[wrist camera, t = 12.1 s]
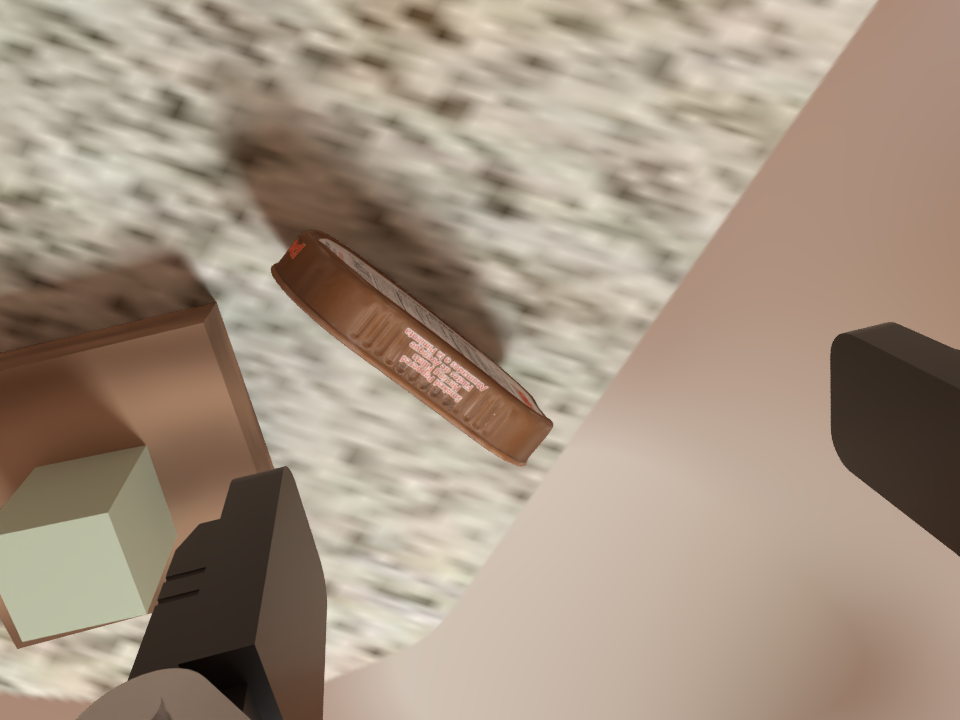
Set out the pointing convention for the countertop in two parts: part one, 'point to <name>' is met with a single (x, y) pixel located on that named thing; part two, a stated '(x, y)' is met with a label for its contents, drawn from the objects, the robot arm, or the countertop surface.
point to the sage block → (84, 543)
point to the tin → (411, 345)
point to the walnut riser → (134, 414)
